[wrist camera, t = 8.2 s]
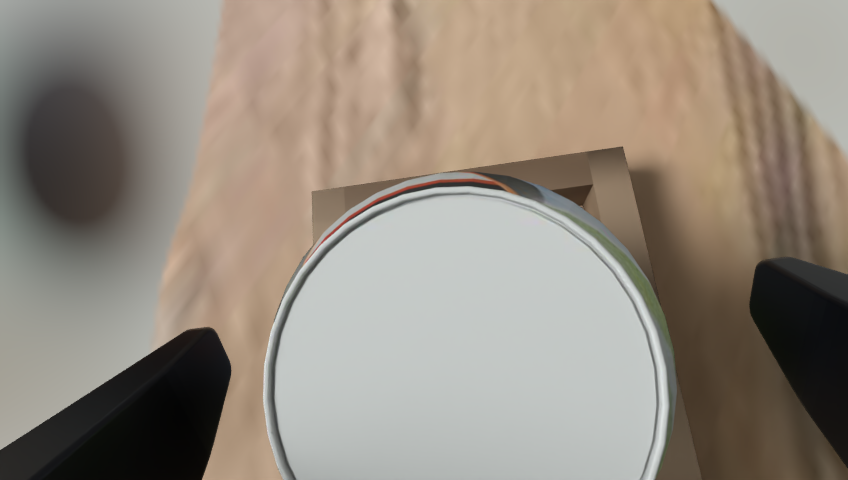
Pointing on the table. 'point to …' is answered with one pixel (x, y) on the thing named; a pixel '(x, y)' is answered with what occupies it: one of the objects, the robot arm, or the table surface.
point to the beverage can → (469, 343)
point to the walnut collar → (600, 196)
